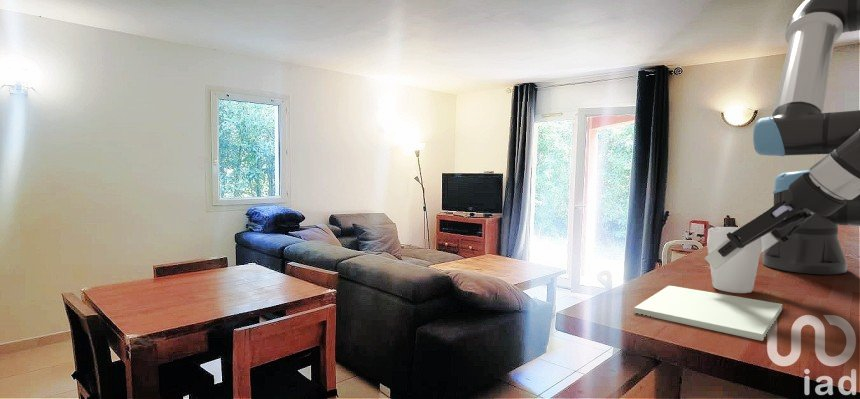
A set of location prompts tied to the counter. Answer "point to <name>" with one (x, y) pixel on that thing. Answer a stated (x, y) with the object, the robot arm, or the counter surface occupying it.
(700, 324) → the sage board
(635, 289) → the counter surface
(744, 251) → the cup
